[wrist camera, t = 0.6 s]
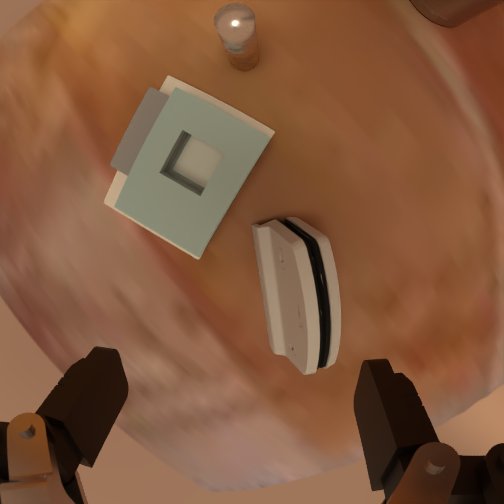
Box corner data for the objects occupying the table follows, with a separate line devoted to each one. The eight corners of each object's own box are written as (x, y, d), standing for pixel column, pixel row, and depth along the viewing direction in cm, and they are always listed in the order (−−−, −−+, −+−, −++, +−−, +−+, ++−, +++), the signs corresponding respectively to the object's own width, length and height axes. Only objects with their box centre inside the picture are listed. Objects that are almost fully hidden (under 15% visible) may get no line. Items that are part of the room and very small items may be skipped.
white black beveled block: (250, 221, 34) (287, 240, 25) (290, 212, 35) (338, 229, 26) (270, 349, 39) (302, 396, 30) (303, 338, 40) (342, 380, 31)
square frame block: (171, 77, 30) (155, 65, 25) (275, 132, 31) (276, 128, 26) (107, 201, 34) (85, 209, 29) (200, 257, 36) (190, 274, 31)
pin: (239, 42, 28) (227, -2, 18) (264, 54, 29) (262, 13, 18) (225, 63, 29) (206, 26, 19) (249, 75, 29) (241, 42, 19)
